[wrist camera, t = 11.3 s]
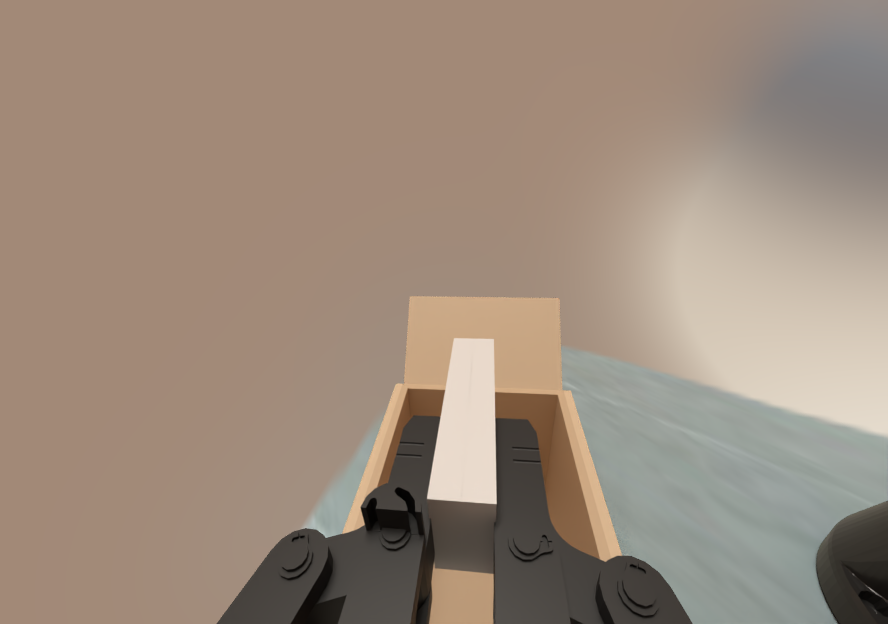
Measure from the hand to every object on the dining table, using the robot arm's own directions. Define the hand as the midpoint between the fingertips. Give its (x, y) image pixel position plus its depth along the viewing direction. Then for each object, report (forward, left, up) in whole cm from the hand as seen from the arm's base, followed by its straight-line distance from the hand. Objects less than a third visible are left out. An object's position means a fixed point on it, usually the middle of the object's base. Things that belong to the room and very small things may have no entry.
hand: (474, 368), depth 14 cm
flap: (-8, -9, -6) cm, 14 cm away
